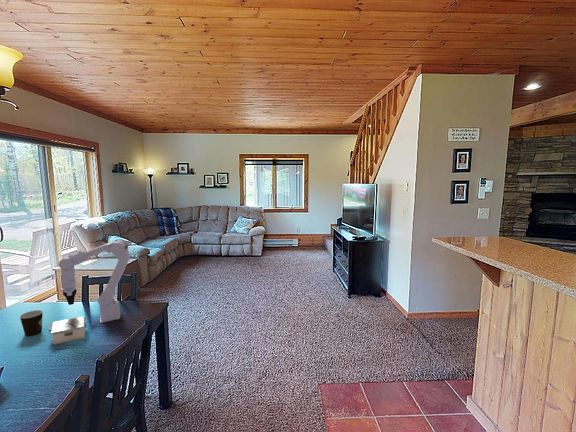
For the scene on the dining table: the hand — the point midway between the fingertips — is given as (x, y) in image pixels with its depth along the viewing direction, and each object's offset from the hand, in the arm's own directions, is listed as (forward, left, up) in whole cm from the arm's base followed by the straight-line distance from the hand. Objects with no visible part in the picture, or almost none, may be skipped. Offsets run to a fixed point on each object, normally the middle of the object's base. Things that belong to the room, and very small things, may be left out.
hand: (71, 304), depth 159 cm
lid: (+2, +15, -5) cm, 16 cm away
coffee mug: (+15, +1, -11) cm, 18 cm away
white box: (+1, +15, -10) cm, 18 cm away
